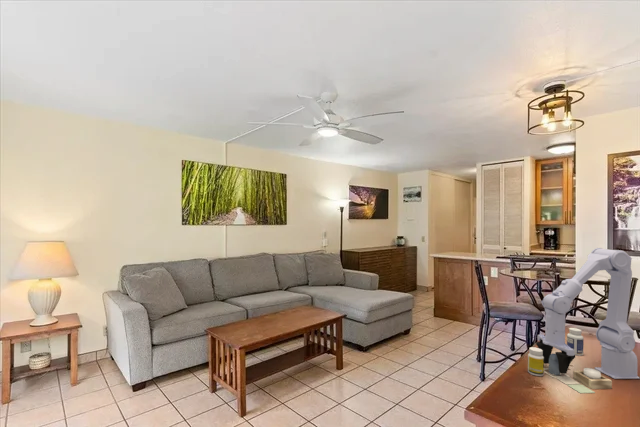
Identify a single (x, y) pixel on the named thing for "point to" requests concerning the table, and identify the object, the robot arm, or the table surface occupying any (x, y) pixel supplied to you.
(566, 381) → the square
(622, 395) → the table surface
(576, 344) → the pill bottle
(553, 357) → the pawn
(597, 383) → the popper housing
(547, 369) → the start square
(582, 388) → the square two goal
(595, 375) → the dome
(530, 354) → the supplement bottle
